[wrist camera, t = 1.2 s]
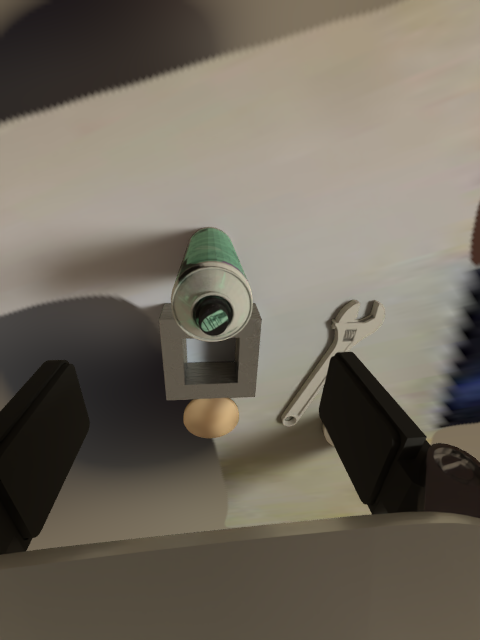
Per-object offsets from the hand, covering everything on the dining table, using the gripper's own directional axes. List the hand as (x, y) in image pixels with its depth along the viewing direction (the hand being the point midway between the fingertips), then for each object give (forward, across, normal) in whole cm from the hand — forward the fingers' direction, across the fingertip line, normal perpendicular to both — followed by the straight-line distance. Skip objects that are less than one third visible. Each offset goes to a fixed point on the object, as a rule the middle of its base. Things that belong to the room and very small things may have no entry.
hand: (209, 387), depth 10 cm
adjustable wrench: (+26, -18, +18) cm, 36 cm away
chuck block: (+26, 0, +14) cm, 29 cm away
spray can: (+26, 0, 0) cm, 26 cm away
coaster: (+26, 0, +28) cm, 38 cm away
